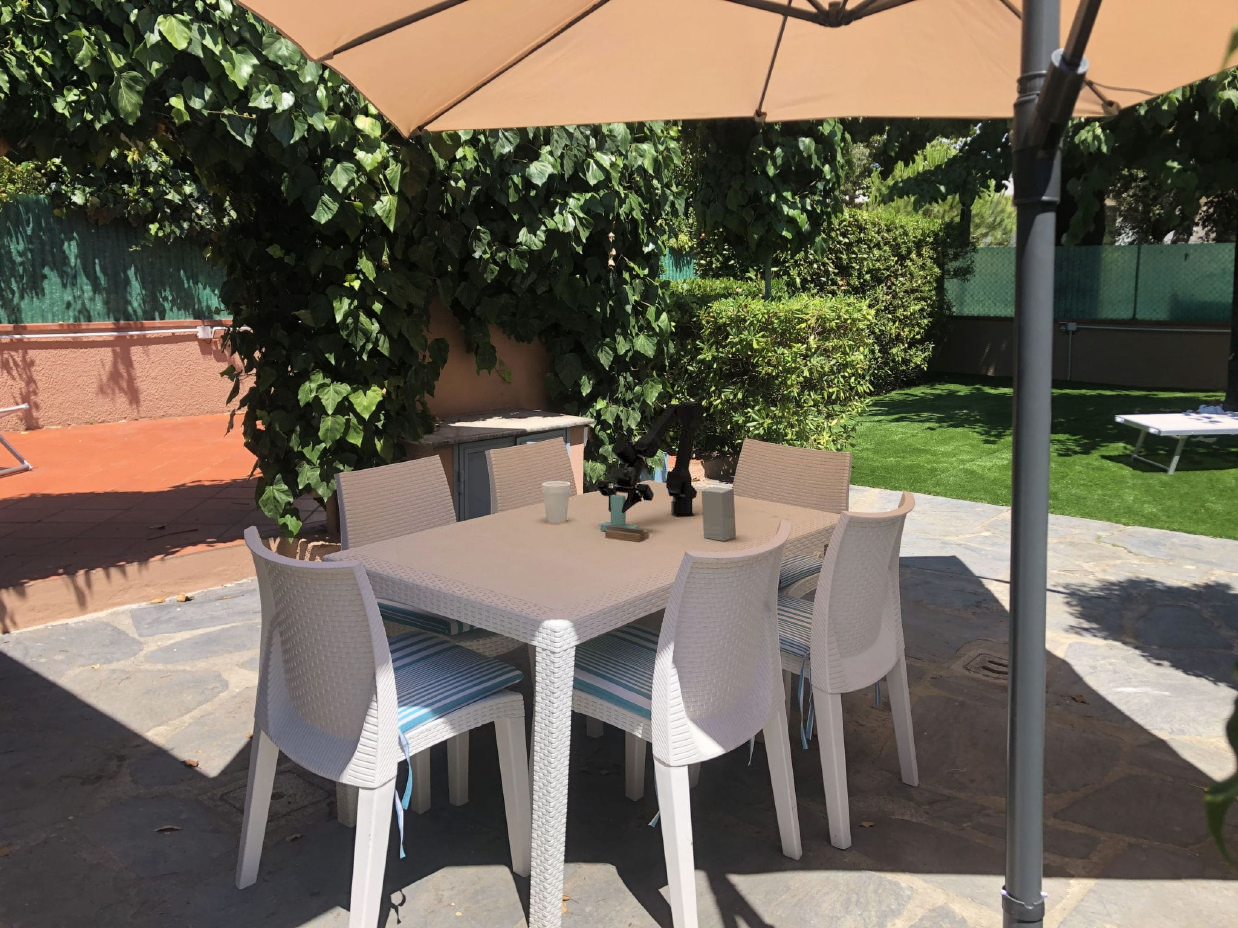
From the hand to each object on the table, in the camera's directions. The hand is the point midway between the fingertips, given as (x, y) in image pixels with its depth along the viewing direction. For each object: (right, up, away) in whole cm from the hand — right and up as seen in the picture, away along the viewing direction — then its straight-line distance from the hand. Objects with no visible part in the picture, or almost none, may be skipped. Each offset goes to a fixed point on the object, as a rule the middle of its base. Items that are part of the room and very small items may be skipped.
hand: (615, 511), depth 314 cm
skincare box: (+32, -8, -6) cm, 34 cm away
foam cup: (-20, -4, +19) cm, 28 cm away
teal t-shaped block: (+1, -6, +3) cm, 7 cm away
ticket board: (+4, -8, -5) cm, 10 cm away
